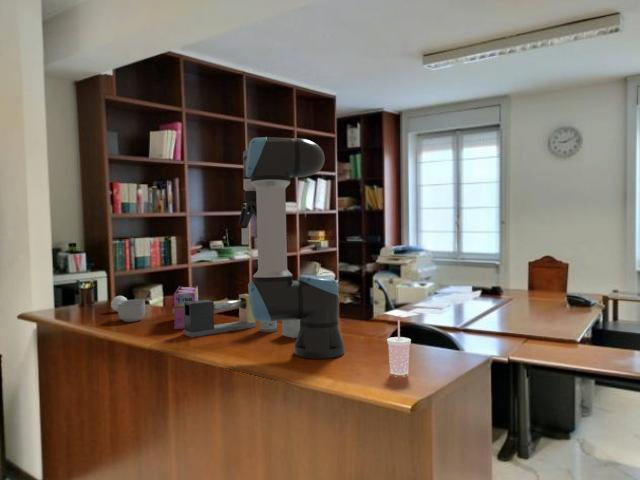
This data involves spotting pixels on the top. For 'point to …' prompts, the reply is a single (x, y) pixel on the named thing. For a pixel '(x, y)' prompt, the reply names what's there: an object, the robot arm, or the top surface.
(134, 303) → the teacup
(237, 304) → the slip tube
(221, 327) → the base board
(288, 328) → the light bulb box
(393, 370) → the beverage cup
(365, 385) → the top surface
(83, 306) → the top surface
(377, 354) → the top surface
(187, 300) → the gum box
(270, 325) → the travel mug
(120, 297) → the white ovoid
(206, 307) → the sleeve and socket
